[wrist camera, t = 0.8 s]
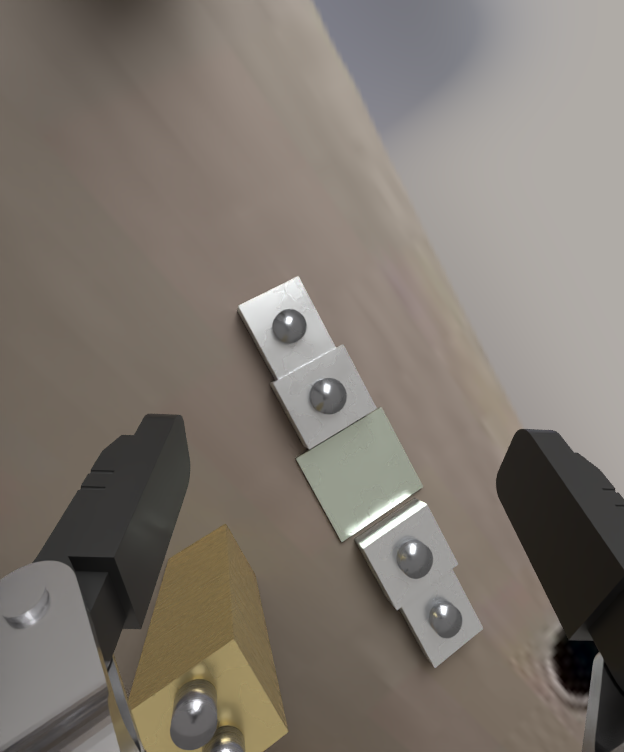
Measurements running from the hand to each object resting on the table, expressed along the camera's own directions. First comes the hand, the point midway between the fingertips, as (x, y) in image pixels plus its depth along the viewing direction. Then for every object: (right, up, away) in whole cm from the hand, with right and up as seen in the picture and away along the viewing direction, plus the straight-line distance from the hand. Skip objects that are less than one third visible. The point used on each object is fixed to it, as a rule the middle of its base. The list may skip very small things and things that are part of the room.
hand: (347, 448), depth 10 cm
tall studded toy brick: (-8, -12, +19) cm, 24 cm away
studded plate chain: (+3, -6, +22) cm, 23 cm away
